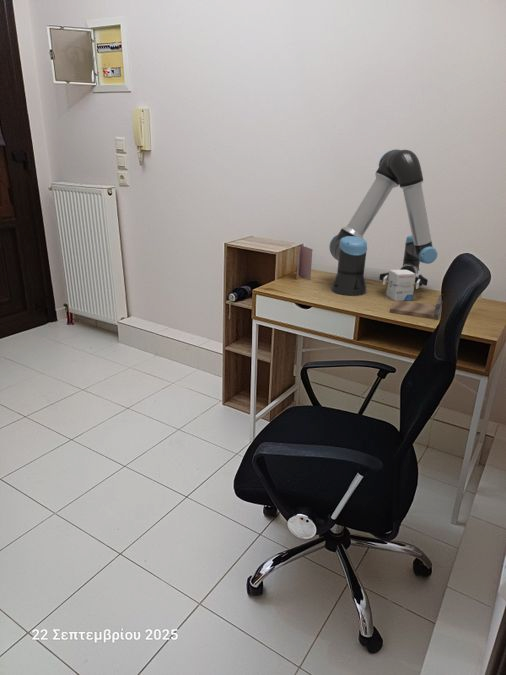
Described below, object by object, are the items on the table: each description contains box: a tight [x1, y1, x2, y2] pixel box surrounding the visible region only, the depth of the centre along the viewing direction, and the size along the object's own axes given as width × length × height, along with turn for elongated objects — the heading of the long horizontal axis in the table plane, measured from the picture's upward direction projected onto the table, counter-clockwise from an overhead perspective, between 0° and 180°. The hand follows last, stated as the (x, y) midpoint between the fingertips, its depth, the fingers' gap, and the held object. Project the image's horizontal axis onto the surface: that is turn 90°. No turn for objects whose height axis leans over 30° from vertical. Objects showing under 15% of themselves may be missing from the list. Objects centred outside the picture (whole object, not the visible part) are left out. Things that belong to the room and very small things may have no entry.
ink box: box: [385, 269, 417, 302], centre depth 208 cm, size 9×8×12 cm
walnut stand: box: [389, 294, 442, 320], centre depth 191 cm, size 18×14×6 cm
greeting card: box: [295, 244, 313, 281], centre depth 236 cm, size 11×7×15 cm, turn 169°
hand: (400, 283), depth 205 cm, fingers open, 13 cm apart
